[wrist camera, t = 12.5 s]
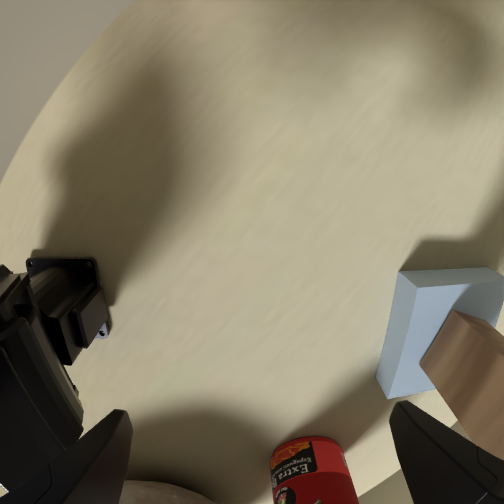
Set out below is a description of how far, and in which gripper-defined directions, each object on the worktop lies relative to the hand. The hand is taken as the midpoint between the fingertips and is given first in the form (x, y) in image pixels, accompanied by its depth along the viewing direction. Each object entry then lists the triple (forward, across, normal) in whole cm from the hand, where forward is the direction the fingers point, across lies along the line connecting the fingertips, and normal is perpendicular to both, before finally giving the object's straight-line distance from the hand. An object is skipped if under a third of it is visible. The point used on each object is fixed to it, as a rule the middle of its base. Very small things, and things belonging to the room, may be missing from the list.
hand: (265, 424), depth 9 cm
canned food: (+13, -6, +21) cm, 26 cm away
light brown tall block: (+10, -16, +5) cm, 19 cm away
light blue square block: (+14, -16, +5) cm, 22 cm away
